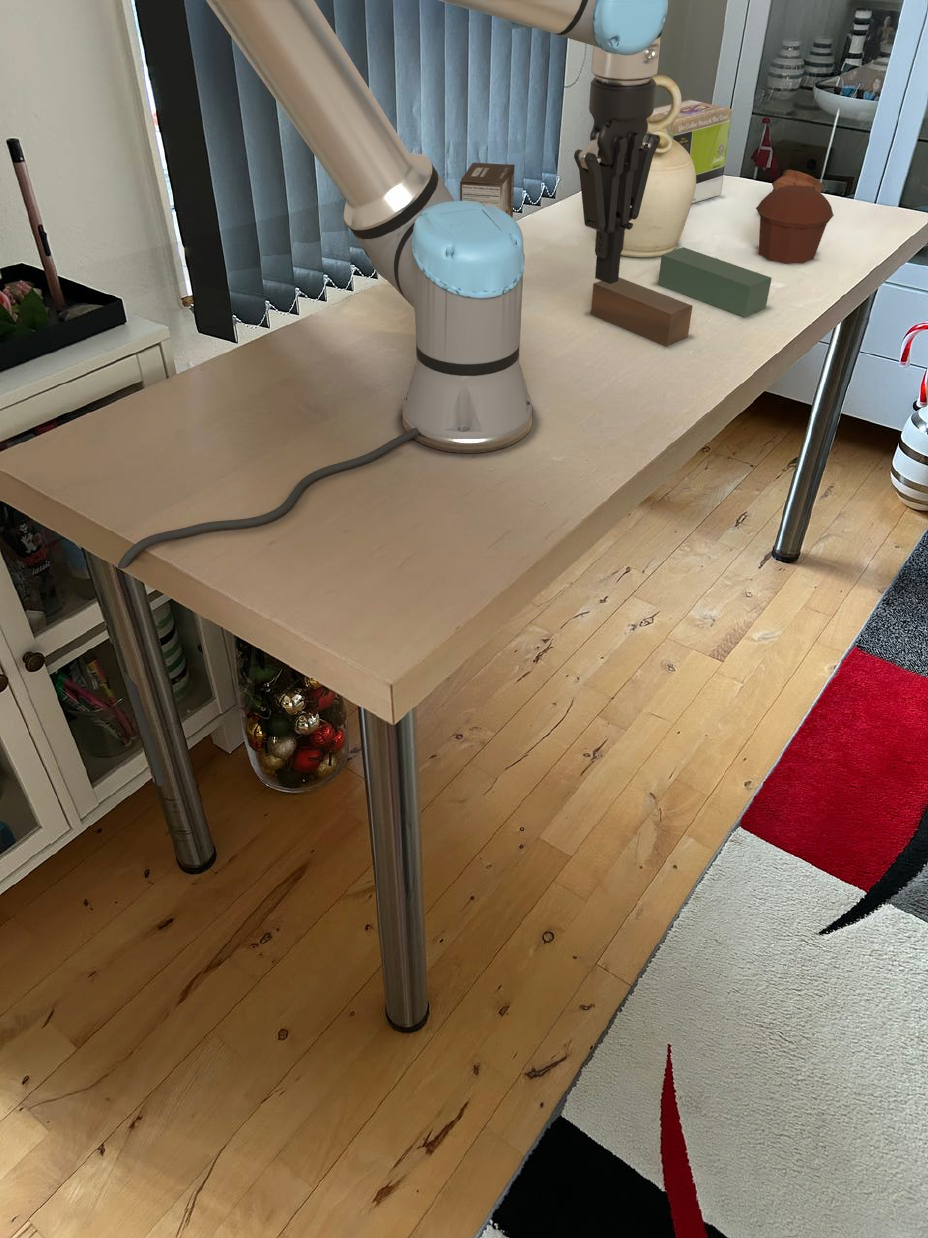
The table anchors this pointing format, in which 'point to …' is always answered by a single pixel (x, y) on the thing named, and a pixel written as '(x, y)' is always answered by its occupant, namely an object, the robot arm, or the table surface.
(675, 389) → the table surface
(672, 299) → the walnut bar
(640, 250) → the jug
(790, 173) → the bread bun
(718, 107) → the tea box
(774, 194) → the muffin
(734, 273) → the green bar
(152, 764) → the robot arm
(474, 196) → the coffee box
